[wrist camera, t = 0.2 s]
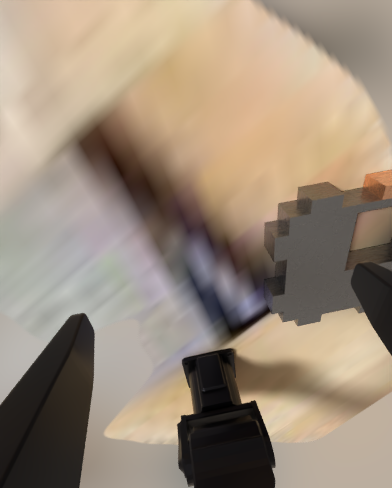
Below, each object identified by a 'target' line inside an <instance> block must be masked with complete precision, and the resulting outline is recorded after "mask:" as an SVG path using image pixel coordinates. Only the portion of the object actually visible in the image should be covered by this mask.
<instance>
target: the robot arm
mask: <svg viewBox="0 0 392 488" xmlns="http://www.w3.org/2000/svg"><path fill="white" fill-rule="evenodd" d="M351 286H352V289H353V291H354V292H355V294H356V296H357V298H358V300H359V302H360V304H361V306H362V308H363V310H364V312H365V314H366V315H367V317H368V319H369V321H370V323H371V325H372V326H373V328H374V330H375V331H376V333H377V334H378V336H379V337H380V339H381V340H382V342H383V343H384V345H385V346H386V348H387V349H388V351H389V352H390V354H391V355H392V271H391V270H389V269H387V268H384V267H382V266H380V265H378V264H376V263H374V262H371V261H365V262H360V263H357V264H356V265H355V268H354V271H353V274H352V278H351ZM182 365H183V368H184V372H185V375H186V379H187V382H188V386H189V388H191V396H192V404H193V411H194V414H191V415H182V416H181V422H180V423H178V424H177V427H178V440H179V450H178V453H179V454H178V464H179V469H180V470H181V471H182V472H183V473H184V474H185V478H187V483H188V486H189V487H190V486H194V488H275V477H274V474H273V470H272V468H275V457H274V452H273V449H272V445H271V441H270V438H269V435H268V432H267V429H266V427H265V424H264V422H263V419H262V416H261V414H260V411H259V409H258V406H257V403H256V401H255V400H254V401H251V402H249V403H244V404H242V403H241V399H240V395H239V391H238V388H237V384H236V380H235V378H236V374H235V363H234V353H233V350H232V349H227V350H223V351H218V352H213V353H209V354H204V355H199V356H195V357H190V358H185V359H183V360H182ZM93 378H94V329H93V327H92V325H91V323H90V321H89V319H88V317H87V316H86V314H84V313H80V314H75V315H72V316H70V317H69V318H68V320H67V321H66V322H65V323H64V325H63V326H62V327H61V329H60V330H59V331H58V332H57V334H56V335H55V336H54V337H53V339H52V340H51V341H50V343H49V344H48V345H47V346H46V348H45V349H44V350H43V351H42V353H41V354H40V355H39V356H38V358H37V359H36V360H35V362H34V363H33V364H32V365H31V367H30V368H29V369H28V371H27V372H26V373H25V374H24V375H23V377H22V378H21V379H20V381H19V382H18V383H17V384H16V386H15V387H14V388H13V389H12V391H11V392H10V393H9V395H8V396H7V397H6V398H5V400H4V401H3V402H2V403H1V405H0V488H79V485H80V478H81V471H82V463H83V456H84V449H85V441H86V434H87V426H88V419H89V412H90V405H91V397H92V390H93Z"/></svg>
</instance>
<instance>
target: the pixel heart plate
mask: <svg viewBox="0 0 392 488" xmlns="http://www.w3.org/2000/svg"><path fill="white" fill-rule="evenodd" d="M391 206H392V170H387V171H382V172H377V173H372V174H366V177H365V182H364V186H363V188H357V189H352V190H347V191H342V192H341V191H339V190H338V189H337V188H335V187H334V186H333V185H331V184H330V183H329V182H324V183H319V184H314V185H309V186H303V187H298V197H297V200H295V201H290V202H285V203H279V204H278V220H277V221H272V222H267V223H265V242H264V246H265V248H266V249H267V251H268V253H269V254H270V256H271V258H272V259H273V261H274V262H276V271H275V277H274V278H269V279H264V298H265V300H266V302H267V304H268V306H269V308H270V311H271V313H272V314H275V313H278V314H279V316H280V318H281V320H282V322H287V321H292V320H294V321H295V323H296V325H297V326H301V325H306V324H310V323H315V322H320V320H321V315H322V314H325V313H330V312H334V311H339V310H344V309H349V308H353V307H354V308H355V309H356V310H357V312H358V313H362V312H364V310H363V308H362V306H361V304H360V302H359V300H358V298H357V296H356V294H355V292H354V291H353V289H352V286H351V278H352V274H353V271H354V268H355V265H356V264H357V263H360V262H365V261H371V262H374V263H376V264H378V265H380V266H382V267H384V268H387V269H389V270H391V271H392V239H391V242H390V243H389V244H384V245H379V246H374V247H369V248H364V249H359V250H354V251H349V249H350V245H351V240H352V236H353V232H354V227H355V223H356V219H357V215H358V213H360V212H365V211H371V210H376V209H381V208H386V207H391Z"/></svg>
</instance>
